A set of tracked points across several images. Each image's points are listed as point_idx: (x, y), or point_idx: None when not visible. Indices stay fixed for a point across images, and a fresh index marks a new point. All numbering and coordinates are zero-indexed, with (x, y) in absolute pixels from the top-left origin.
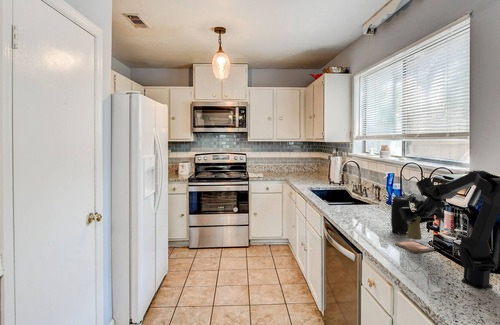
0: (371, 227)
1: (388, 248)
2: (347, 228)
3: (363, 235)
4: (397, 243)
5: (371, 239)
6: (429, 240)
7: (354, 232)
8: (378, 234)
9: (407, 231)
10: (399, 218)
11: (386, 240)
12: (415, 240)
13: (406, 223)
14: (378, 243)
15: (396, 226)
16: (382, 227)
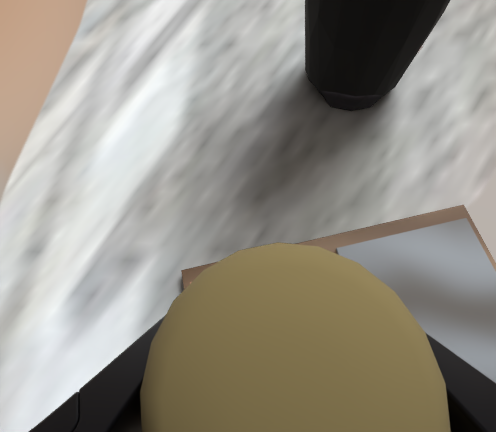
0: (231, 9)
1: (89, 340)
2: (94, 20)
3: (102, 113)
4: (190, 283)
5: (100, 175)
6: (464, 254)
7: (87, 71)
8: (199, 102)
9: (388, 90)
10: (346, 3)
11: (179, 196)
12: (353, 246)
13: (395, 47)
14: (92, 243)
15: (318, 59)
16: (293, 9)
